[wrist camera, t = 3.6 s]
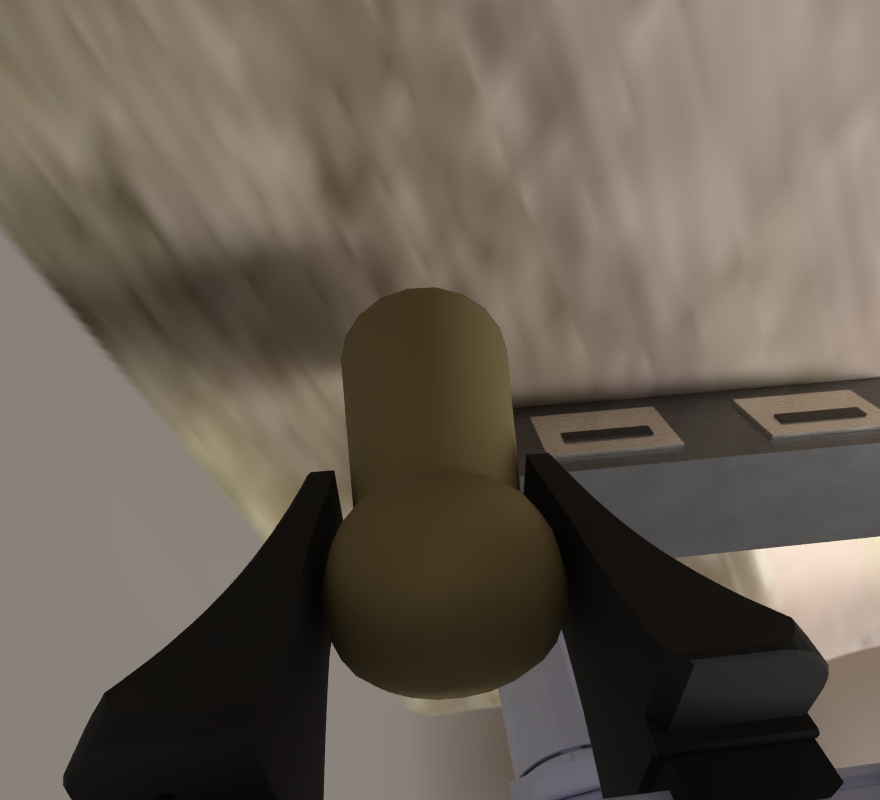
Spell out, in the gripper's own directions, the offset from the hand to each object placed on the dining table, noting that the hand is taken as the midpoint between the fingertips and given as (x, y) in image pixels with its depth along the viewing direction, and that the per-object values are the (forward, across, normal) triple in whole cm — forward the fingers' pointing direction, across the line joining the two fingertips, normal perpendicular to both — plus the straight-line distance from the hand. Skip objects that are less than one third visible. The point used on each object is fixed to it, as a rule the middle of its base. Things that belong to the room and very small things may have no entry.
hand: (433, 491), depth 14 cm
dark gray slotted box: (+10, -13, +7) cm, 18 cm away
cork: (+6, 0, -1) cm, 6 cm away
